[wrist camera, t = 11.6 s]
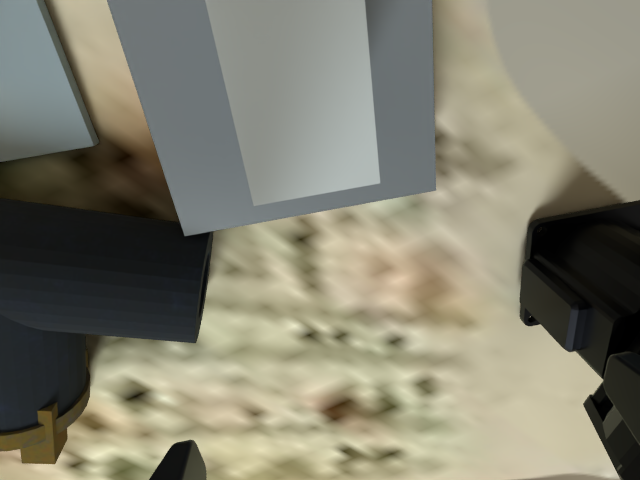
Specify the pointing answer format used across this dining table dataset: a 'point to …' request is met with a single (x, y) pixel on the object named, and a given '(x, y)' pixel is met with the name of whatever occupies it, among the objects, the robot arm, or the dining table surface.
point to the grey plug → (298, 94)
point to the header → (217, 121)
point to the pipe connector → (83, 307)
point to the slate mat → (37, 87)
